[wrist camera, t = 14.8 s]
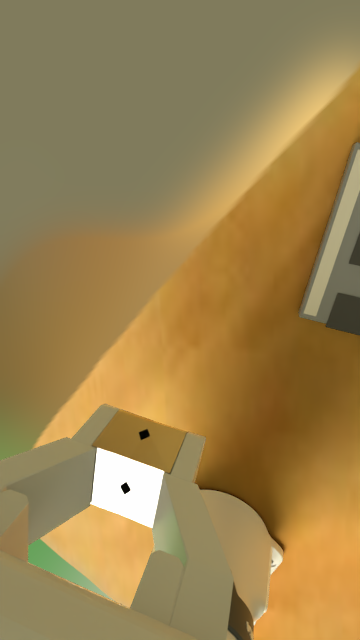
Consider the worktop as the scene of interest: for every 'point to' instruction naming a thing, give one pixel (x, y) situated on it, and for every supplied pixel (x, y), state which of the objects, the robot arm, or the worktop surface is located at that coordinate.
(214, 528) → the robot arm
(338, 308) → the panel
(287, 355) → the worktop surface
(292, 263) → the worktop surface
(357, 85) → the worktop surface
